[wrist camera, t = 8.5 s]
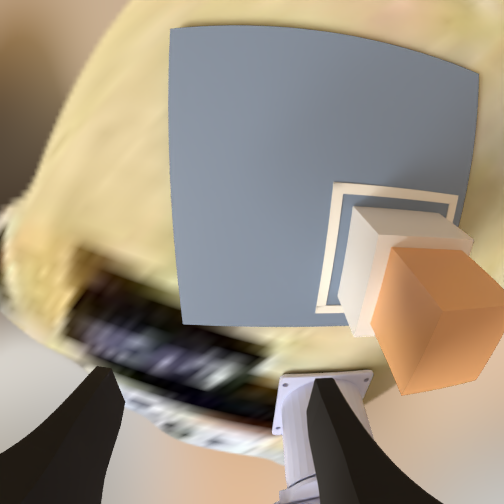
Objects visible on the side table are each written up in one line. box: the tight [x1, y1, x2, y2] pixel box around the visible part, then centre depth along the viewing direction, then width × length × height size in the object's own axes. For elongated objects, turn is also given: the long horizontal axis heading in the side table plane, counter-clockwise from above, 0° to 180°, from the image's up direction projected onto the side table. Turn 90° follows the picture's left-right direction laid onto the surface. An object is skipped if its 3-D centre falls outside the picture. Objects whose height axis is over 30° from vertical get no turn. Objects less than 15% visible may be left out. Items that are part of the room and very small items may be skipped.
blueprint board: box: [168, 25, 479, 327], centre depth 17 cm, size 18×18×1 cm
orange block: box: [370, 247, 504, 395], centre depth 12 cm, size 4×4×5 cm
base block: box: [338, 206, 474, 337], centre depth 16 cm, size 6×6×4 cm
